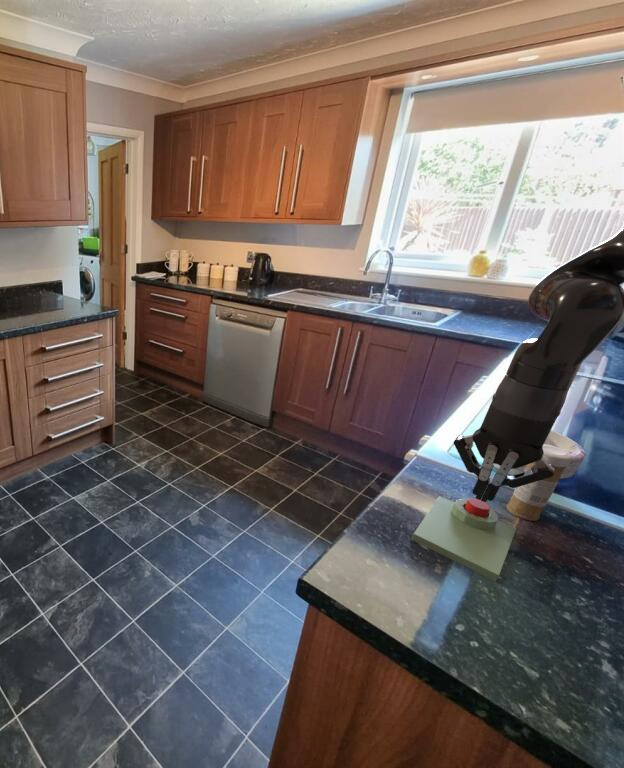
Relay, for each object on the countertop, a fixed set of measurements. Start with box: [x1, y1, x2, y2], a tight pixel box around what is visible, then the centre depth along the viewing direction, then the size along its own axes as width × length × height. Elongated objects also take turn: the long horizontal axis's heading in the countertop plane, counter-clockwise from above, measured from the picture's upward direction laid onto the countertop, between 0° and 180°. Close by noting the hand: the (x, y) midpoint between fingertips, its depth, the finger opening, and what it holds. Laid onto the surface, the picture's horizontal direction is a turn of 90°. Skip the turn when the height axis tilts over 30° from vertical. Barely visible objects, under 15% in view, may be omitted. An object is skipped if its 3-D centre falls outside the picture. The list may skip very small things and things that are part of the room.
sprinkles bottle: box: [505, 444, 572, 522], centre depth 74 cm, size 5×5×14 cm
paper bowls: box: [493, 429, 587, 480], centre depth 88 cm, size 15×15×8 cm
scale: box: [411, 495, 517, 582], centre depth 70 cm, size 16×11×3 cm
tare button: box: [465, 497, 491, 518], centre depth 72 cm, size 3×3×2 cm
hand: (481, 498), depth 72 cm, fingers closed
